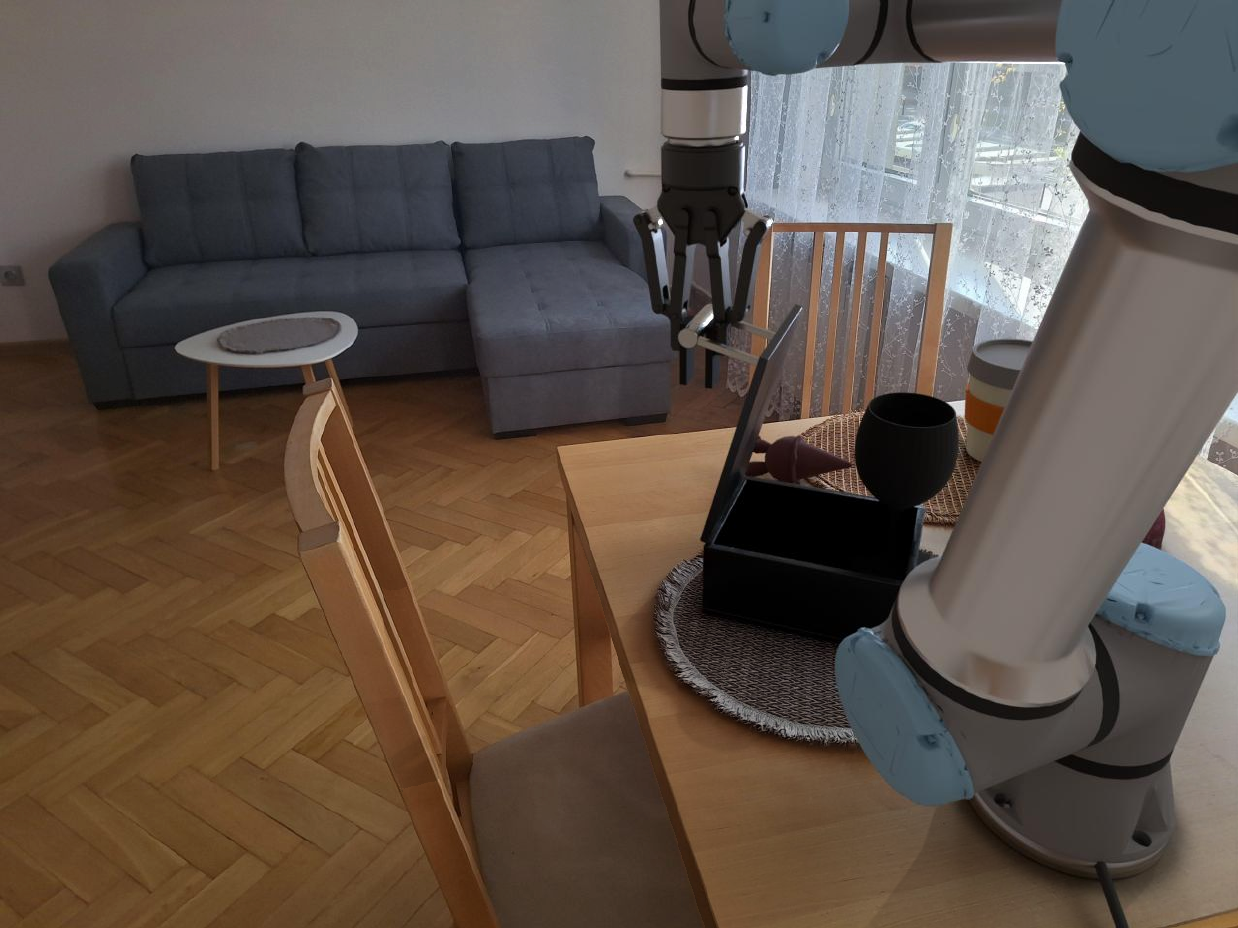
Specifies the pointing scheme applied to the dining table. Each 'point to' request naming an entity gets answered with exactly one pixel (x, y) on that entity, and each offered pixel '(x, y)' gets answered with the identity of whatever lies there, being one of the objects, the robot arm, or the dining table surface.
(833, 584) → the black open box
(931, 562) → the robot arm
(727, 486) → the lid
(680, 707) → the dining table surface
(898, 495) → the wine glass
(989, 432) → the reusable coffee cup
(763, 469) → the icecream
